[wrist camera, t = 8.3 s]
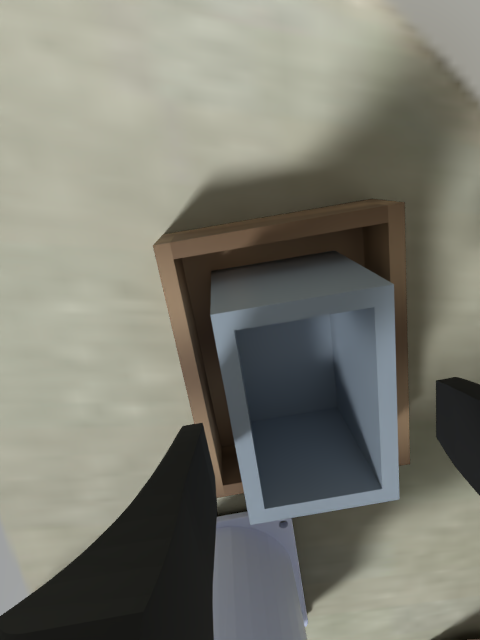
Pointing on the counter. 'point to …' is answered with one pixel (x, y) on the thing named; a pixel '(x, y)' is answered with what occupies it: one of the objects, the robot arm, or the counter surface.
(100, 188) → the counter surface
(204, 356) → the walnut crate
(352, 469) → the grey crate
